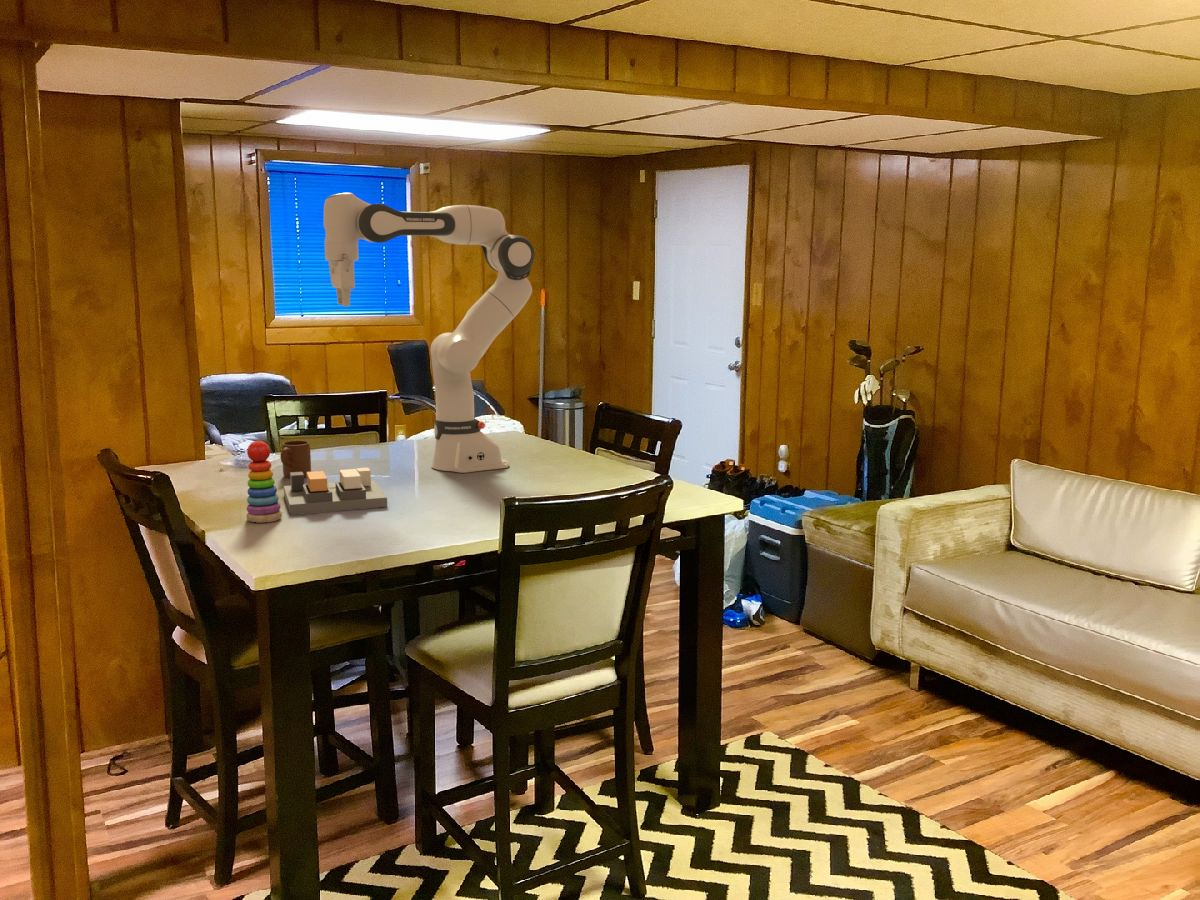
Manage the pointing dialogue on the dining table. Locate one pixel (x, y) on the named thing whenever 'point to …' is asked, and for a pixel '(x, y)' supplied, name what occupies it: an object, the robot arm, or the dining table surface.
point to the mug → (296, 457)
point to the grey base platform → (334, 498)
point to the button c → (317, 481)
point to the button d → (350, 479)
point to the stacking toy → (261, 486)
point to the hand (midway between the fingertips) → (343, 305)
